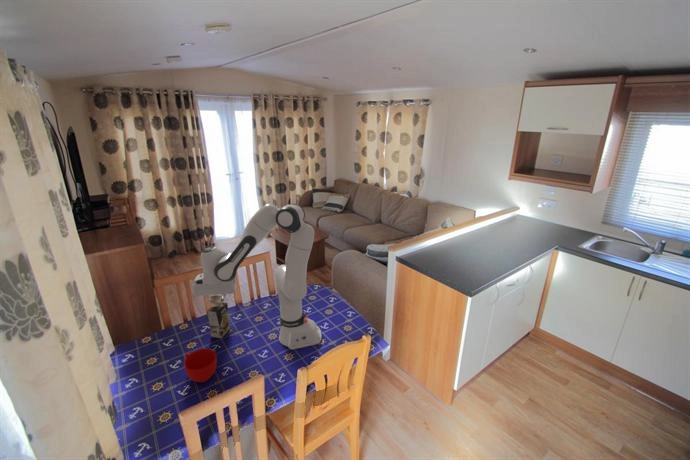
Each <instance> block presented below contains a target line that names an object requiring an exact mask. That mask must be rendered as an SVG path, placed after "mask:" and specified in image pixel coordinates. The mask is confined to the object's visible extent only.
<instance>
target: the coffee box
mask: <svg viewBox="0 0 690 460" xmlns="http://www.w3.org/2000/svg"><path fill="white" fill-rule="evenodd" d="M207 316H208V317H207V318H208V323H209V324H208V325H209V329H210V330H209V331H210V336H211V337H212V338H218V339H222V338H223V337H224V336H225V335H226V333H228V331H229V330H230V329H231V323H230V313H229V306H228V302H223V303H222V305H221V306H216V307H211V306H210V308H209V309H208V310H207Z"/></svg>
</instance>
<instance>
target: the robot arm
mask: <svg viewBox="0 0 690 460" xmlns="http://www.w3.org/2000/svg"><path fill="white" fill-rule="evenodd" d="M305 216H306V213H305V209H304V208H303V207H302V206H301V205H300V204H297V203H290V204H286V205H285V206H281V208H279V207H278V206H276V205H275V204H273V203H266V204H264V205H263V206H261V208H259V209H258V210H257V211H256V212H255V213H254V215H253V216H252V217H251V218H250V220H248V222H247V224H246V226H245V228H244V230H243V233H242V235H241V237H240V240H239V242H238V244H237V246H236V247H235V248H234V250H232V251H231V250H229V251H228V250H224V249H222V248H219V247H218V246H215V245H212V246H211V245H210V246H208V247H206V248H204V249H203V250H202V251H201V252H200V253H201V254H200V260H201V261H200V263H201V267H202V270H203V271H202V273H200V274H197V275H196V276H195V278H194V280H193V286H192V288H193V289H192V290H193V296H195V297H201V296H202V297H203V296H204V298H206V299H207V302H208V303H210V297H211V295H219V294H222V295H223V297H222V298H221V301H223V302H225V301H226V296H227V295H233V294H235V293H236V292H237V285H236V276H237V273H238V269H239V267H240V266H241V264H242V263H243V262H244V261H245V259H246V258H247V256H249V254H250V253H251V252H252V251H253V249H255V248H256V247H257V246H258V245H259V244H260V243H261V242H262V241H263V240H264V239H265V238H267V236H268V235H269V234H271V232H272V230H273V229H274V228H275V227H276V226H277V225H278V226H279V228H281V229H283V230H284V231H286V232H287V233H289V234H290V239H289V241H288V242H289V243H288V246H287V249H286V253H285V258H284V260H285V264H280V265H278V266H277V267H276V268H275V270H274V272H273V273H274V274H273V276H274V279H275V285H276V292H277V297H278V301H279V312H280V315H279V325H280V330H279V337H278V341H279V343H280V344H281V345H283V346H286V347H288V348H289V350H297V349H302V348H306V347H310V346H311V347H312V346H314V345H315V346H316V345H318V344H320V343H321V341H322V337H323V335H322V331H321V328H320V327H319V326H318V325H317V324H316V322H315V321H314V320H313V319H310V318H308V317H307V314H306V311H304V312H303V299H304V298H305V297H306V295H307V292H308V286H307V271H308V269H307V268H308V264H309V263H308V261H309V259H310V255H311V251H312V248H313V244H314V240H315V239H314V238H315V228H314V227H313V226H312V225H311V224H310V223H306V222H305V221H304V220H305V218H306V217H305Z"/></svg>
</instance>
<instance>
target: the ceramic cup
mask: <svg viewBox="0 0 690 460" xmlns="http://www.w3.org/2000/svg"><path fill="white" fill-rule="evenodd" d="M184 357H185V359H184V362H183V365H184V366H183V367H184V370H185V373H186V375H187V376H188V377H189V379H191V381H194V382H196V383H206V382H207V381H208V380H209V379H210V378H211V377H212V376H213V375H214V373H215V372H216V370H217V363H218V361H217V354H216V352H215V350H213V349H209V348H202V349H198V350H195V351H193V352H191V353H190V352H187V353H185V355H184Z"/></svg>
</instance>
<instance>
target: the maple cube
mask: <svg viewBox="0 0 690 460" xmlns="http://www.w3.org/2000/svg"><path fill="white" fill-rule="evenodd" d="M209 297H210V302H209V303H210V308H211V307H216V306H221V305H222V303H224V301H221V298H222V297H223V294H219V295H210V296H209Z"/></svg>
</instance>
